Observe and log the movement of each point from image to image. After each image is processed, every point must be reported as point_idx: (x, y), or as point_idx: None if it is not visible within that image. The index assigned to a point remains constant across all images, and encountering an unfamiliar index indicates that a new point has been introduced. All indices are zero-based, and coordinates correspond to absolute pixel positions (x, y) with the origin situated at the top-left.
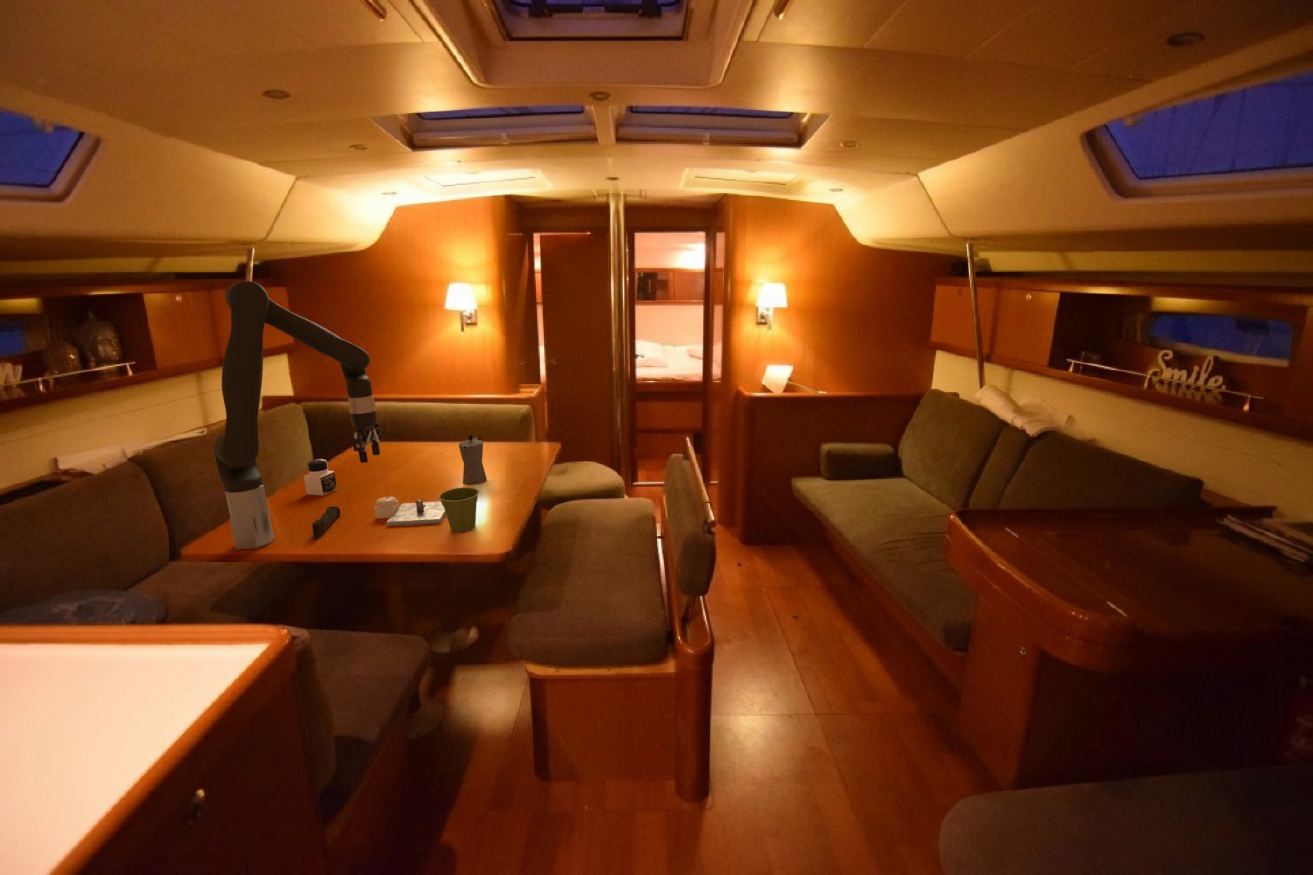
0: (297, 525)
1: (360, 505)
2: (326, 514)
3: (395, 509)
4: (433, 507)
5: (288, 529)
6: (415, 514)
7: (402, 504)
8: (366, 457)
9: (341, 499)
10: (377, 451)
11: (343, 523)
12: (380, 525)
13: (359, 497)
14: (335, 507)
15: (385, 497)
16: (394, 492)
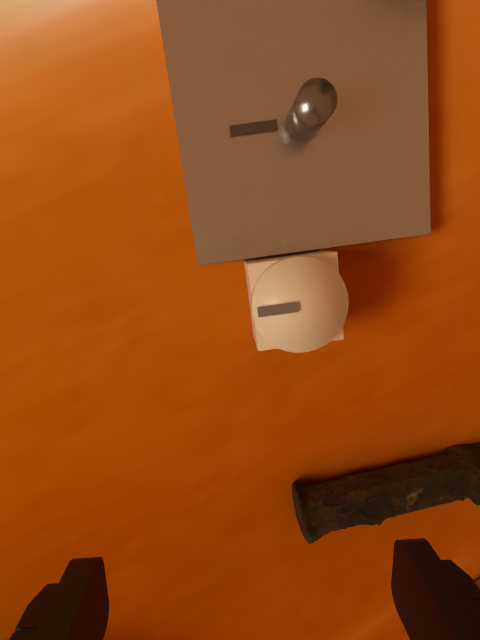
0: (371, 571)
1: (175, 462)
2: (384, 507)
3: (297, 255)
4: (258, 65)
5: None
6: (352, 127)
7: (212, 260)
8: (458, 590)
9: (110, 567)
10: (86, 609)
11: (368, 428)
12: (404, 269)
13: (82, 513)
14: (307, 515)
15: (264, 325)
16: (5, 398)
